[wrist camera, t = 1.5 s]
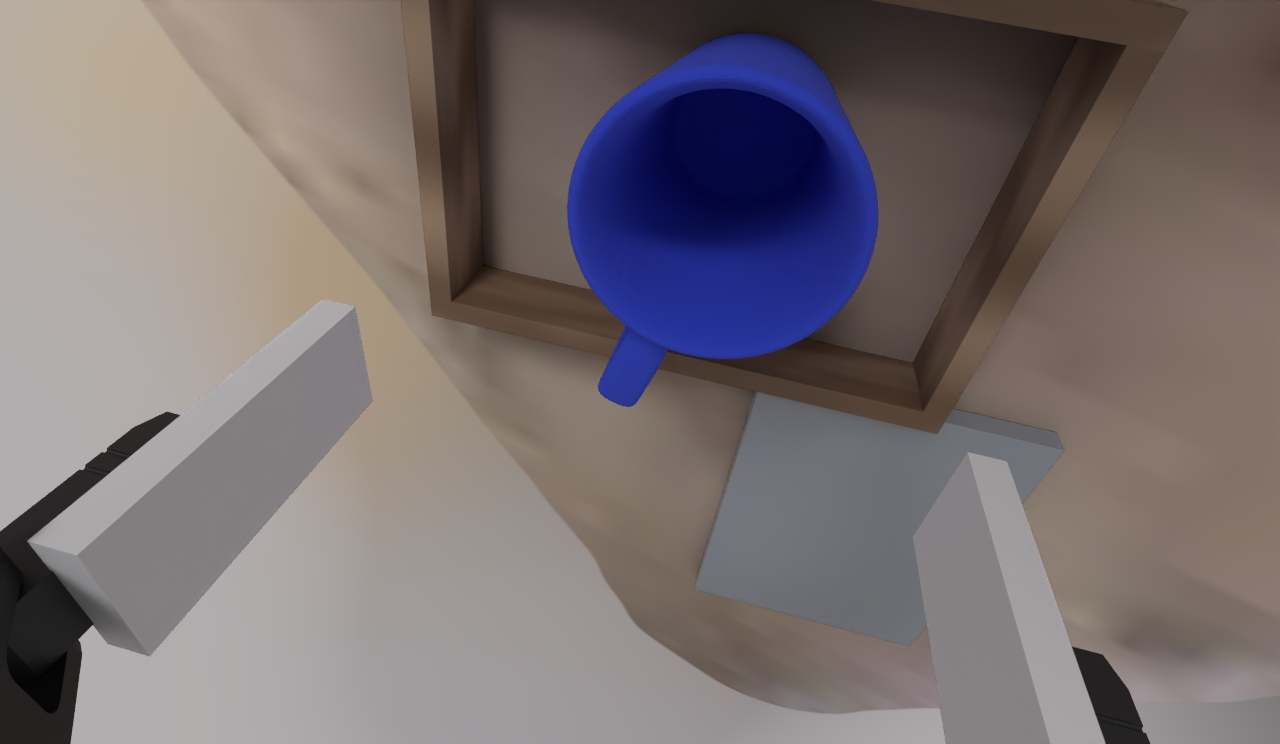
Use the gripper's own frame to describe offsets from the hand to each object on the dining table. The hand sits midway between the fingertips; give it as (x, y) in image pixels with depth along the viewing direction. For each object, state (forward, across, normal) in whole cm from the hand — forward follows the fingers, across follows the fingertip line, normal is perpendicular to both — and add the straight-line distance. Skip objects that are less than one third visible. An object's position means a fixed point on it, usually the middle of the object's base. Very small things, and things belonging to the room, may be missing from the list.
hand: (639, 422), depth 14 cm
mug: (+16, 0, 0) cm, 16 cm away
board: (+16, +11, -18) cm, 26 cm away
